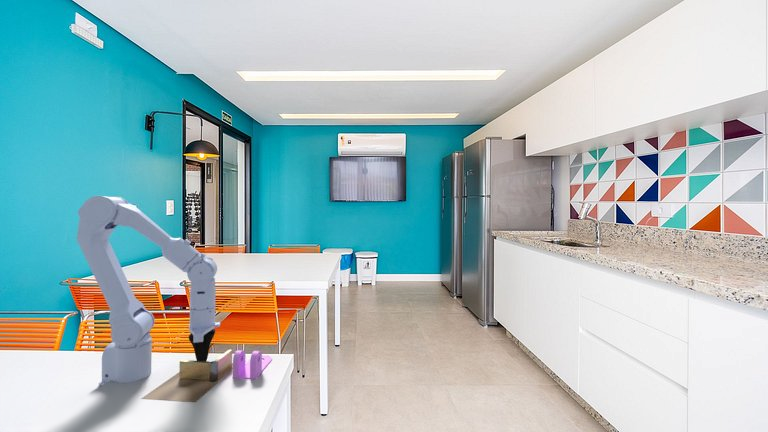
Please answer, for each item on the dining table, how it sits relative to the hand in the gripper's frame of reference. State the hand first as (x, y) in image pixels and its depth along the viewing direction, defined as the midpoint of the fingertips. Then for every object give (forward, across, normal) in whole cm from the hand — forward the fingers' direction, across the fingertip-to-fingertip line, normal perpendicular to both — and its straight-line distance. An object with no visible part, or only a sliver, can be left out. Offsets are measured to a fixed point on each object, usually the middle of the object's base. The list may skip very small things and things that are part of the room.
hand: (202, 360), depth 91 cm
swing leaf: (+2, -6, +1) cm, 6 cm away
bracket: (+3, -2, -13) cm, 13 cm away
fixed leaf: (+2, -4, -5) cm, 7 cm away
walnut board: (+3, -6, +1) cm, 6 cm away
